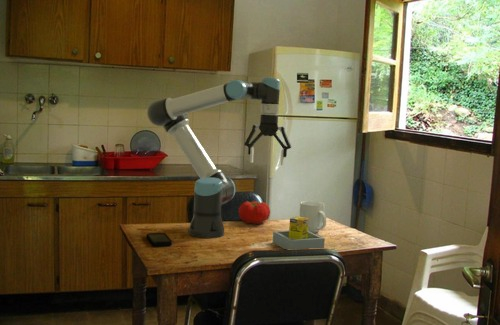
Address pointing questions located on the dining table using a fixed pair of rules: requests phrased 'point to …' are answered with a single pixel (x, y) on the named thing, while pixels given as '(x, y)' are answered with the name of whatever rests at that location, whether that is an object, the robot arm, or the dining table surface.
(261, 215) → the tomato
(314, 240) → the bin
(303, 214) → the mug
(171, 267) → the dining table surface
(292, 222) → the supplement box
